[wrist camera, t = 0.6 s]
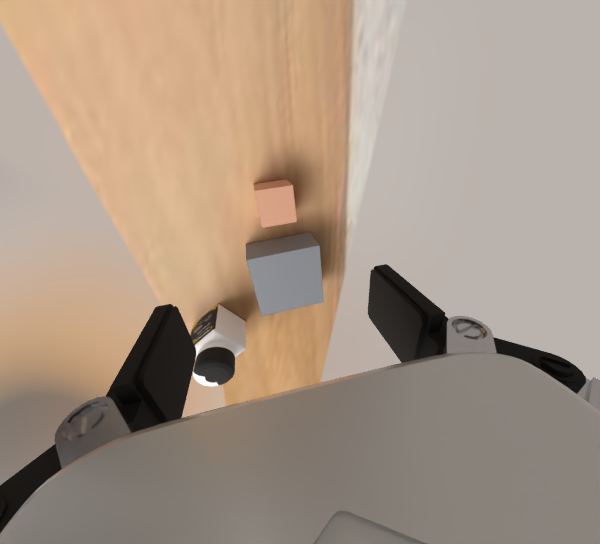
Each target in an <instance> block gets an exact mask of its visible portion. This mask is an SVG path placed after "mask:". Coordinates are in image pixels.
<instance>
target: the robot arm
mask: <svg viewBox="0 0 600 544" xmlns="http://www.w3.org/2000/svg"><path fill="white" fill-rule="evenodd" d="M368 315H369V318H370V319H371V321H372V322H373V324H374V325H375V326H376V328H377V329H378V330H379V332H380V333H381V335H382V336H383V337H384V339H385V340H386V341H387V343H388V344H389V345H390V347H391V348H392V350H393V351H394V353H395V354H396V355H397V357H398V358H399V359H400V361H401V362H402V363H400V364H396V365H391V366H387V367H383V368H379V369H375V370H371V371H367V372H363V373H359V374H354V375H350V376H346V377H342V378H338V379H334V380H330V381H326V382H322V383H318V384H313V385H309V386H305V387H301V388H297V389H293V390H289V391H285V392H281V393H277V394H273V395H269V396H265V397H261V398H257V399H254V400H250V401H246V402H242V403H238V404H234V405H230V406H226V407H222V408H218V409H214V410H210V411H206V412H203V413H200V414H195V415H191V416H188V417H184V418H181V417H182V413H183V409H184V405H185V401H186V396H187V392H188V388H189V384H190V380H191V376H192V371H193V367H194V363H195V359H196V348H195V346H194V343H193V341H192V339H191V337H190V334H189V332H188V330H187V328H186V325H185V323H184V321H183V319H182V316H181V314H180V312H179V310H178V308H177V307H176V306H175V307H173V305H171V304H168V305H163V306H158V307H156V308H155V309H154V311H153V313H152V315H151V317H150V318H149V320H148V322H147V323H146V325H145V327H144V329H143V331H142V332H141V334H140V336H139V338H138V339H137V341H136V343H135V345H134V346H133V348H132V350H131V352H130V353H129V355H128V357H127V359H126V361H125V362H124V364H123V366H122V368H121V369H120V371H119V373H118V375H117V376H116V378H115V380H114V382H113V384H112V385H111V387H110V390H109V392H108V393H107V395H106V397H97V398H95V399H92V400H89V401H87V402H85V403H84V404H82V405H80V406H79V407H78V408H76V409H75V410H74V411H72V412H71V413H70V414H69V415H68V416H67V417H66V418H65V419H64V420H63V421H62V423H61V424H60V426H59V427H58V429H57V431H56V434H55V445H53V446H52V447H51V448H49V449H48V450H47V451H45V452H44V453H43V454H41V455H40V456H39V457H37V458H36V459H35V460H33V461H32V462H31V463H30V464H28V465H27V466H25V467H24V468H23V469H22V470H20V471H19V472H18V473H16V474H15V475H14V476H12V477H11V478H10V479H8V480H7V481H6V482H4V483H3V484H2V485H0V544H600V380H598V379H596V378H593V379H592V380H591V381H590V380H588V379H586V377H585V376H584V374H583V373H582V371H580V370H579V369H578V368H577V367H576V366H575V365H573V364H572V363H570V362H569V361H567V360H565V359H563V358H561V357H559V356H556V355H553V354H551V353H547V352H544V351H540V350H537V349H533V348H530V347H525V346H522V345H519V344H515V343H512V342H508V341H505V340H501V339H497V338H494V337H493V335H492V332H491V330H490V329H489V328H488V327H487V326H486V325H485V324H483V323H482V322H480V321H478V320H476V319H473V318H469V317H465V316H455V317H452V318H450V319H448V318H447V317H446V316H445V312H443V311H442V310H441V309H440V308H439V307H437V306H436V305H435V304H434V303H432V302H431V301H430V300H429V299H428V298H427V297H425V296H424V295H423V294H422V293H420V292H419V291H418V290H417V289H416V288H415V287H413V286H412V285H411V284H410V283H409V282H407V281H406V280H405V279H404V278H403V277H401V276H400V275H399V274H398V273H396V272H395V271H394V270H393V269H392V268H391V267H389V266H388V265H380V266H375V267H374V270H371V276H370V289H369V303H368Z"/></svg>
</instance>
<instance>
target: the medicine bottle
mask: <svg viewBox="0 0 600 544" xmlns="http://www.w3.org/2000/svg"><path fill="white" fill-rule="evenodd" d="M190 337H191V339H192V341H193V343H194V346H195V348H196V362H195V367H194V372H193V376H194V378H195V380H196V381H197V382H198V383H200V384H202V385H205V386H218V385H222V384H224V383H226V382H228V381H229V380H230V379H231V378H232V377H233V375H234V372H235V357H236V356H238V355H239V354H240V353H241V352H243V351H244V350H245V349H246V322H245V321H244V320H243V319H241V318H240V317H238V316H237V315H235V314H234V313H232V312H230V311H229V310H227V309H226V308H224V307H223V306H221V305H220V304H217V305H216V306H215V307H213V308H212V309H211V310H210V311H209V312H208V313H207V314H205V315H204V316H203V317H202V318H201V319H200V320H199V321H197V322H196V323H195V324H194V325H193V328H192V331H191V335H190Z"/></svg>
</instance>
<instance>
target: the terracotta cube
mask: <svg viewBox="0 0 600 544" xmlns="http://www.w3.org/2000/svg"><path fill="white" fill-rule="evenodd" d="M253 186H254V191H255V196H256V201H257V206H258V211H259V216H260V221H261V225H262V228H264V227H270V226H275V225H281V224H287V223H293V222H297V218H296V209H295V200H294V191H293V185H292V184H291V183H290V182H289V181H288V180H287V179H284V180H277V181H270V182H263V183H256V184H253Z"/></svg>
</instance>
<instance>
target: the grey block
mask: <svg viewBox="0 0 600 544" xmlns="http://www.w3.org/2000/svg"><path fill="white" fill-rule="evenodd" d="M246 261H247V265H248V268H249V272H250V276H251V279H252V283H253V286H254V290H255V294H256V297H257V301H258V305H259V308H260V312H261V316H265V315H270V314H274V313H278V312H283V311H287V310H291V309H295V308H300V307H304V306H308V305H313V304H317V303H321V302H324V298H323V284H322V271H321V258H320V245H319V244H318V242H317V241H316V240H315V238H314V237H313V235H312V234H311V232H306V233H301V234H296V235H291V236H286V237H280V238H275V239H270V240H265V241H260V242H254V243H249V244H246Z"/></svg>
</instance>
